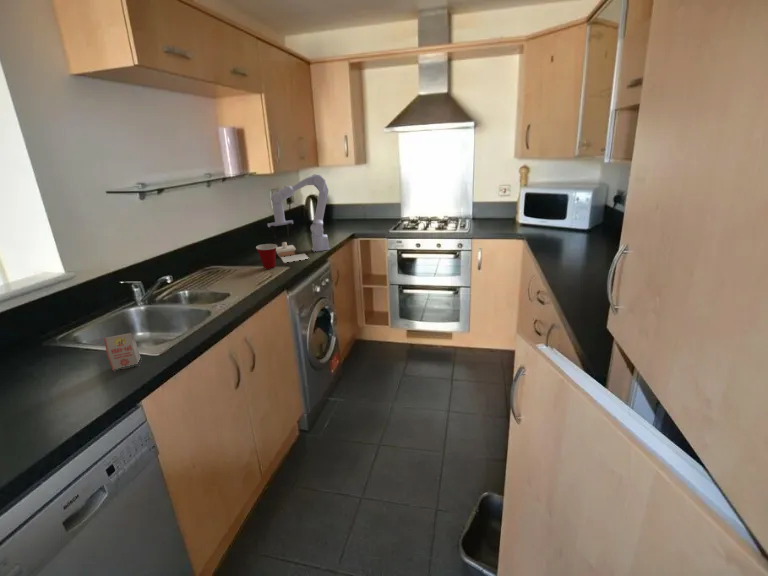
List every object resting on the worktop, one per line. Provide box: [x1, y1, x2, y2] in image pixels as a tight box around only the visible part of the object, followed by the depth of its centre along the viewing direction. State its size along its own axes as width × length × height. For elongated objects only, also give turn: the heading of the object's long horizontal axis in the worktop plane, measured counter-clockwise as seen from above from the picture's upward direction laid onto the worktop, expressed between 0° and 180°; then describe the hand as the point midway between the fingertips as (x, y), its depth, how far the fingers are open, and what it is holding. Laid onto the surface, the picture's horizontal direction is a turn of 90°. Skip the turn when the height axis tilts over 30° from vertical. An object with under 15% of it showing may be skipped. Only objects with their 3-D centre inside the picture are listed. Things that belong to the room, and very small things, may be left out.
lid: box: [276, 241, 297, 254], centre depth 236 cm, size 11×11×4 cm
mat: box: [280, 252, 309, 264], centre depth 227 cm, size 14×14×1 cm
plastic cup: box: [255, 243, 278, 270], centre depth 210 cm, size 11×11×12 cm
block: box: [276, 250, 296, 258], centre depth 238 cm, size 9×9×3 cm
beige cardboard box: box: [103, 332, 142, 371], centre depth 117 cm, size 4×7×10 cm, turn 109°
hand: (282, 237), depth 234 cm, fingers open, 7 cm apart
